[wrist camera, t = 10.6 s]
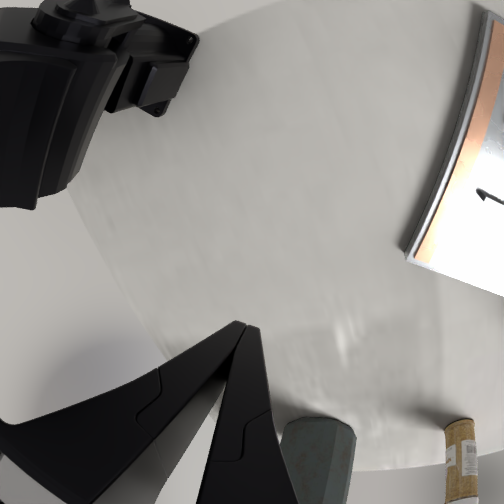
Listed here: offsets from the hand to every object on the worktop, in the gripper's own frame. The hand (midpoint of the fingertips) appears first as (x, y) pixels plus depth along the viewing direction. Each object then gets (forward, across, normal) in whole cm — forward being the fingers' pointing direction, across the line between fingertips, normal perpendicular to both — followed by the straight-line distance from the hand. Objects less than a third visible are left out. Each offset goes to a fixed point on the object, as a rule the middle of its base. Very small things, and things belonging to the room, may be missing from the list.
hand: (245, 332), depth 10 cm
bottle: (+13, +12, -32) cm, 36 cm away
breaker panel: (+13, +17, +6) cm, 23 cm away
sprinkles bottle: (+13, +30, -24) cm, 40 cm away
